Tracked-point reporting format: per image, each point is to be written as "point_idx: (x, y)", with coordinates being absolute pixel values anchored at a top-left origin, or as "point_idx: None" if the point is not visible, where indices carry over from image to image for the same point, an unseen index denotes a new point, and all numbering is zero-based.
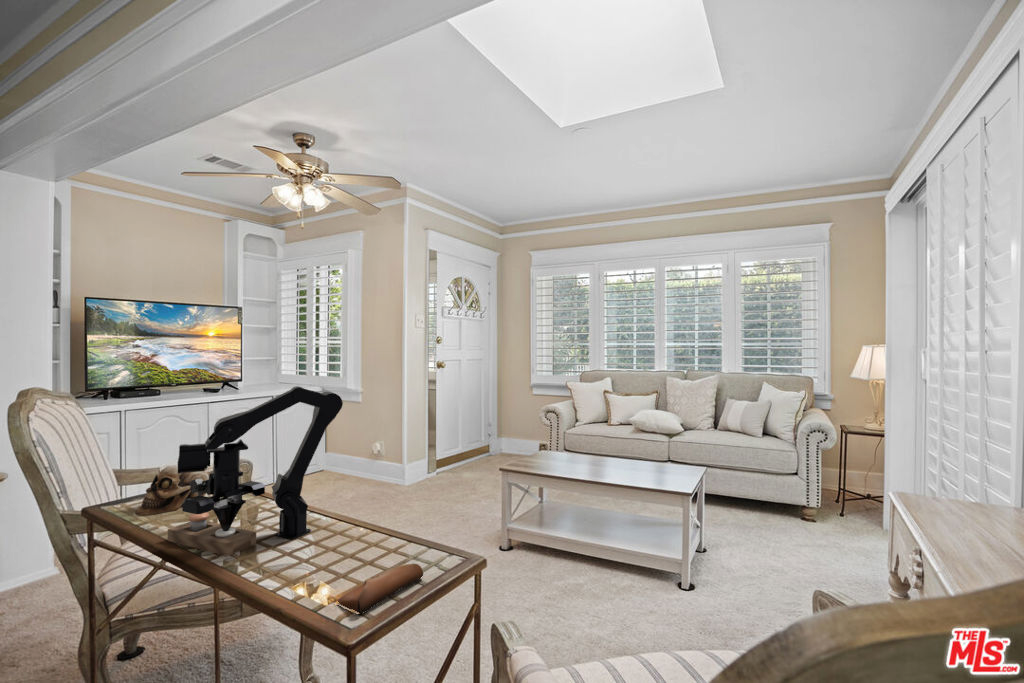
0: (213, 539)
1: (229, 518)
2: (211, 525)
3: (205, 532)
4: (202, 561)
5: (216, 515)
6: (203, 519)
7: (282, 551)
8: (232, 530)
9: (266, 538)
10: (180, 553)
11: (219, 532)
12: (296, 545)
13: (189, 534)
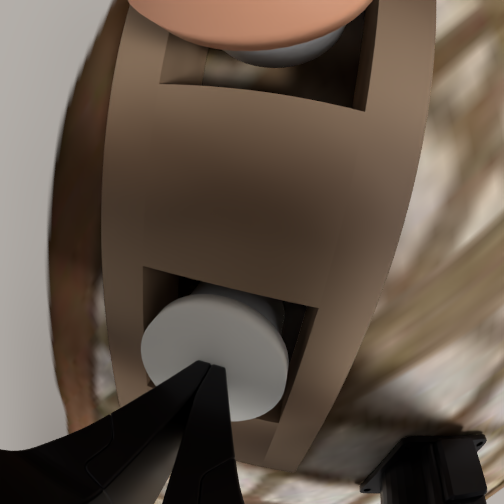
0: (116, 339)
1: (156, 491)
2: (370, 70)
3: (181, 175)
4: (77, 319)
5: (73, 434)
6: (215, 47)
7: (259, 492)
8: (230, 411)
9: (376, 423)
10: (82, 142)
11: (163, 353)
12: (313, 501)
13: (114, 80)
